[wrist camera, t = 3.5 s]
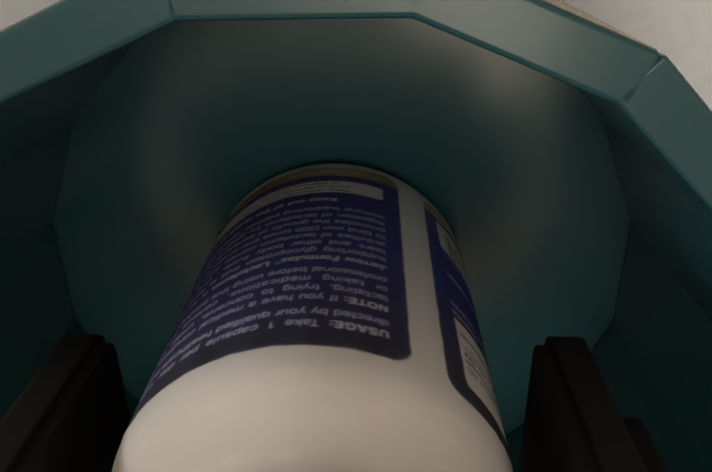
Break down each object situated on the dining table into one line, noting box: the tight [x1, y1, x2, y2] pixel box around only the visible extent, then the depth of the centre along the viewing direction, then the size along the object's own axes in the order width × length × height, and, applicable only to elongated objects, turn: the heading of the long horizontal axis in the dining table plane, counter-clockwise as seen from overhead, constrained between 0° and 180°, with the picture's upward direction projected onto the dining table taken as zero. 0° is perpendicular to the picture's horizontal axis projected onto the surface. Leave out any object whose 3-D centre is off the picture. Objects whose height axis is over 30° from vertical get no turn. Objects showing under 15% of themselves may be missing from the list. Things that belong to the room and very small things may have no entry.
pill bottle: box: [112, 163, 513, 472], centre depth 11 cm, size 6×6×10 cm
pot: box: [0, 0, 712, 472], centre depth 13 cm, size 14×14×6 cm
